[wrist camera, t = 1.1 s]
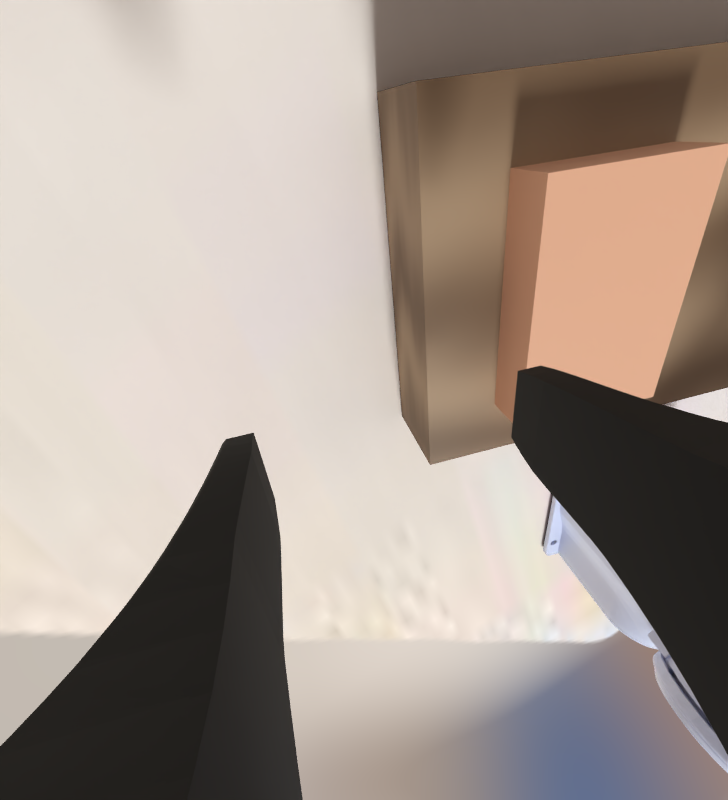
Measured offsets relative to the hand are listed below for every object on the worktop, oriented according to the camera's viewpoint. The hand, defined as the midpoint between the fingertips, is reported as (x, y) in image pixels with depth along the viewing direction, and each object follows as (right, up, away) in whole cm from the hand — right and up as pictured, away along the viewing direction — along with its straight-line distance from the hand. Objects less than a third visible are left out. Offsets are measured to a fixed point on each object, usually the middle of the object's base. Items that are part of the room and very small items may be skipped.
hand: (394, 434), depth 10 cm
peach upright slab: (+7, +5, +6) cm, 11 cm away
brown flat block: (+8, +8, +10) cm, 15 cm away
